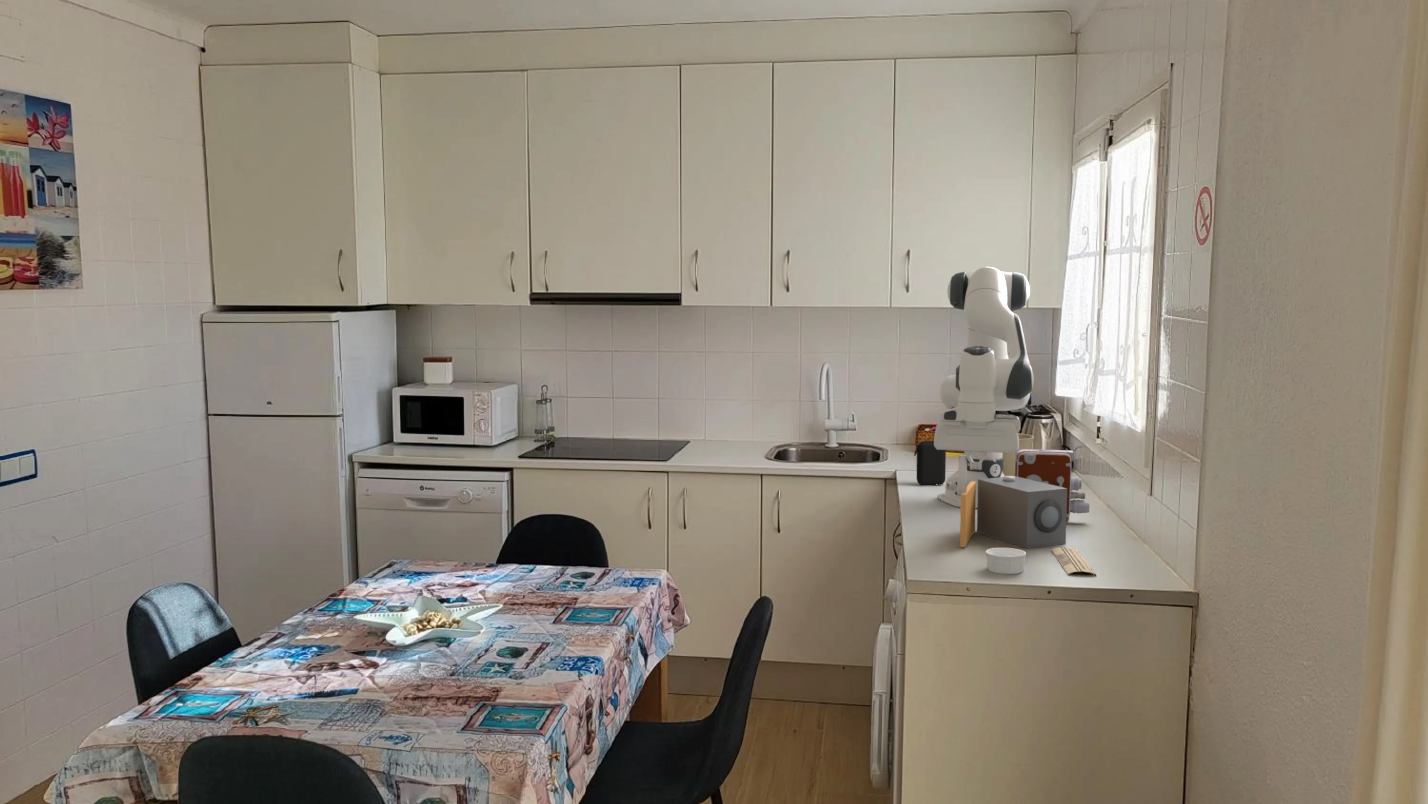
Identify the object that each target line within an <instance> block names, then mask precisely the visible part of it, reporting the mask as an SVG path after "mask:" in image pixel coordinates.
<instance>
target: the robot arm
mask: <svg viewBox="0 0 1428 804" xmlns="http://www.w3.org/2000/svg"><path fill="white" fill-rule="evenodd" d="M946 291H947V292H946V293H947V298H948V300H949V304H950V305H951V306H952V307H953V308H954V309H958V310H963V311H964V319H965V321H966V323H967V340H966V341H967V343H966V344H967V345H966V347H965V348H964V349H963V350H962V352H961V357H960V364H959V365H958V366H956V368H955V374H951V375H947V376H946V377H945V378H944V379H943V380H942V382H941V384H940V387H939V397H940V400H941V402H942V404H943V405H944V407H946V408H947V409H943V410H941V411H940V412H939V416H938V417H939V420H940V421H939V422H938V423H937V424H936V426H935V431H934V437H933V441H934V446H935V448H936V449H937V450H946V451H958V452H960V451H961V452H963V455H964V456H966V457H967V486H968V485H969V483H970V482H971V481H976V508H975V509H977V502H978V479H987V478H1000V477H1003V476H1005V475H1004V474H1003V472H1002V470H1004V458H1003V457H1002V456H1003V453H1016V452H1017V451H1018V450H1019V436H1018V434H1019V433H1020V431H1021V425H1022V423H1021V420H1020V418H1019V417H1018V416H1016V415H1014V414H1004V413H1003V414H1002V413H996V411H997V412H1008V411H1014V410H1019V409H1023V408H1024V407H1025V406H1026V405H1027V404H1028V403H1029V400H1030V397H1031V393H1032V392H1033V388H1034V382H1035V378H1034V377H1035V376H1034V372H1033V368H1032V366H1031V363H1030V359H1029V355H1028V350H1027V349H1028V348H1027V345H1026V340H1025V334H1024V330H1023V326H1022V325H1023V324H1022V322H1021V319H1020V316H1019V315H1018V314H1016V313H1015V312H1014V311H1017V310H1021V309H1022V308H1024V306H1026V304H1027V302H1028V300H1029V297H1030V294H1031V288H1030V284H1029V281H1028V279H1027V276H1025V274H1023V273H1020V272H1015V271H1013V272H1008V271H1000V270H999V269H998V268H995V267H994V266H993V267H991V266H985V267H984V266H983V267H980V268H978V269H977V270H975V271H970V272H966V271H962V272H957V273H954V275H952V277H951V278H950V281H949V282H948V285H947V290H946ZM1008 347H1009V352H1010V353H1009V354H1010V357H1009V354H1008ZM958 474H959V469H958V470H956V471H955V472H954V473H953V474H952V475H951V476H950V477H948V478H946V480H945V487H944V488H945V489H944V493H938V495H936V499H938V498H939V499H938V500H940V499H941V501H942V502H944V503H947V504H948V505H951V506H953V507H957V508H961V495H959V494H958Z"/></svg>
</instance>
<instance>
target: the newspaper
mask: <svg viewBox="0 0 1428 804" xmlns="http://www.w3.org/2000/svg"><path fill="white" fill-rule="evenodd" d="M1051 551H1052V553H1053V555H1054V556H1055V558H1056V560H1057V561H1058V562H1059V564H1060V565H1061V566H1063V567H1062V569H1063V570H1064V572H1065V573H1066V575H1067V576H1071V575H1072V574H1073V573H1087V574H1091V575H1092V574H1093V575H1092V576H1093V577H1096V576H1097V573H1096V572H1095V571H1094V570H1093V568H1092V566H1091V565H1090V564H1089V563H1088V561H1087V560H1086V559H1085V558H1084V557H1083V555H1082V554H1081V553H1080V552H1079V550H1078V549H1077V548H1074V547H1069V546H1059V547H1057V546H1056V547H1054V548H1052V549H1051ZM1095 575H1096V576H1095Z"/></svg>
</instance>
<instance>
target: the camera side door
mask: <svg viewBox="0 0 1428 804" xmlns="http://www.w3.org/2000/svg"><path fill="white" fill-rule="evenodd" d="M958 470H959V474H958V494H959V495H961V507H960V524H959V525H960V527H959V528H960V529H959V530H960V533H959V547H962V548H966V546H967V545H968V543H969V541H970V540H971V538H972V536H973V534H974V533H975V531H976V509H977V508H976V481H971V482H970V483H969V485H968V486H967V457H966V456H964V454H962V455H958Z"/></svg>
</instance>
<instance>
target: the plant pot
mask: <svg viewBox="0 0 1428 804" xmlns="http://www.w3.org/2000/svg"><path fill="white" fill-rule="evenodd" d="M1018 436H1019V450H1021V449H1033V443H1034V435H1031V434H1026V433H1018ZM1019 450H1018V451H1019ZM1002 457H1003V458H1004V470H1002V472H1003V474H1004V475H1005V476H1015V462H1016V453H1003V456H1002Z"/></svg>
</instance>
